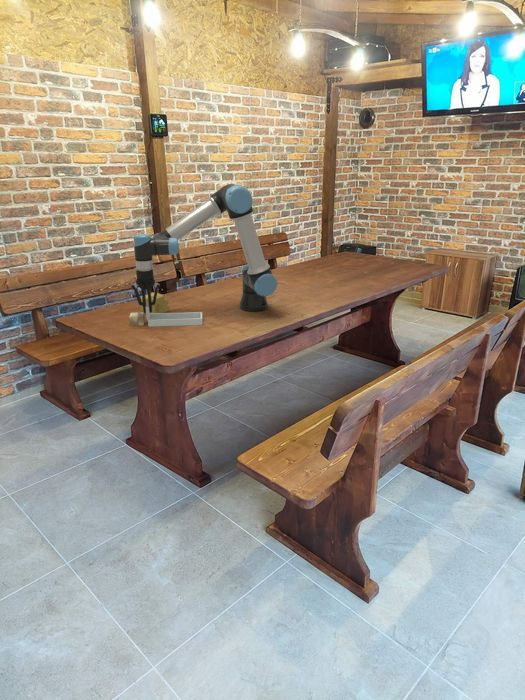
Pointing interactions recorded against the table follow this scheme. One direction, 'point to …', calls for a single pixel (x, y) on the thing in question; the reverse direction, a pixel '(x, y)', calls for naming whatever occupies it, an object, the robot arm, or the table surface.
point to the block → (137, 319)
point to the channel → (175, 319)
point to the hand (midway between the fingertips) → (148, 319)
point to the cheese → (157, 304)
